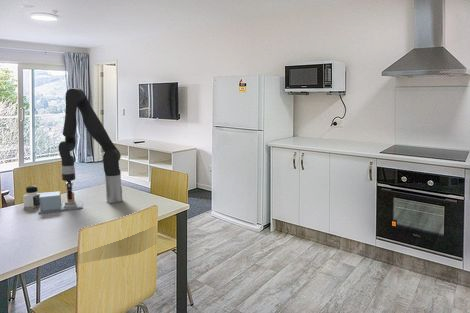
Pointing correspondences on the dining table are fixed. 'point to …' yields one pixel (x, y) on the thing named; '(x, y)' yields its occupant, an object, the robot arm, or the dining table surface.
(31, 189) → the medicine bottle
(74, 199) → the tan rectangular block
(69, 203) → the housing base
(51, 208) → the cover
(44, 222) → the dining table surface
